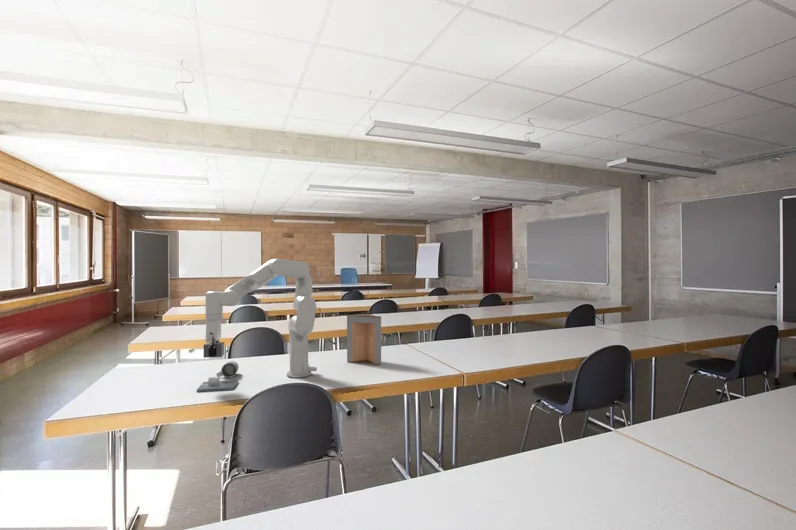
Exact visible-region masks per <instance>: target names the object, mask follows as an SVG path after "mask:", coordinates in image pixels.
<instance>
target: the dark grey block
mask: <svg viewBox="0 0 796 530" xmlns="http://www.w3.org/2000/svg"><path fill="white" fill-rule="evenodd" d="M213 344H214V343H213ZM215 348H216V356H211V357H209V342H205V343H204V344H203V358H204V359H206V358H222V357H224V355H225V341H219V342H216V347H215Z"/></svg>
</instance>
